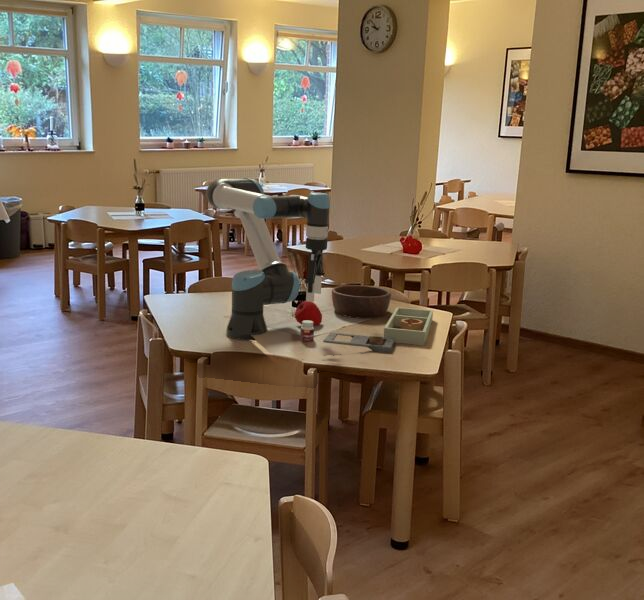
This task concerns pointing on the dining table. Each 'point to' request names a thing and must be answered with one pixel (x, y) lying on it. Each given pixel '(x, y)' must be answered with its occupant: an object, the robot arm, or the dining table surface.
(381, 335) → the walnut block
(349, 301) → the wooden bowl
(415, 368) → the dining table surface
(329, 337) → the grey slotted plate
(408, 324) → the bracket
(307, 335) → the pill bottle
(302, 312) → the red rounded tapered piece
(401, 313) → the parts crate
